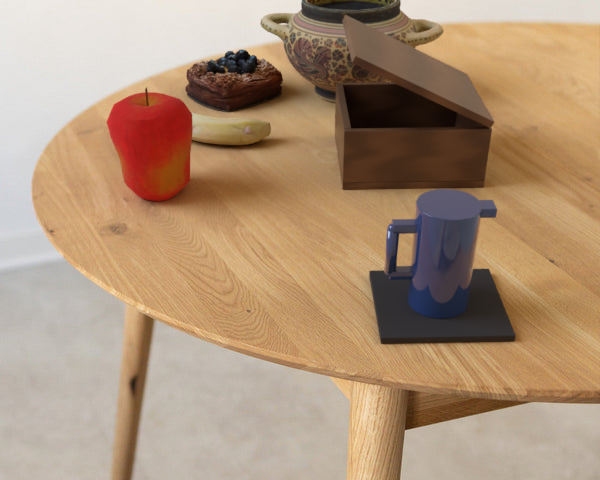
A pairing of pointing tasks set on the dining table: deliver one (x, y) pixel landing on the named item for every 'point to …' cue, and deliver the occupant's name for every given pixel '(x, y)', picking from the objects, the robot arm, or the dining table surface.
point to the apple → (152, 143)
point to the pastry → (233, 82)
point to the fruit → (228, 130)
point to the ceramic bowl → (341, 38)
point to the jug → (439, 251)
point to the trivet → (420, 329)
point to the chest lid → (414, 70)
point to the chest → (405, 140)
